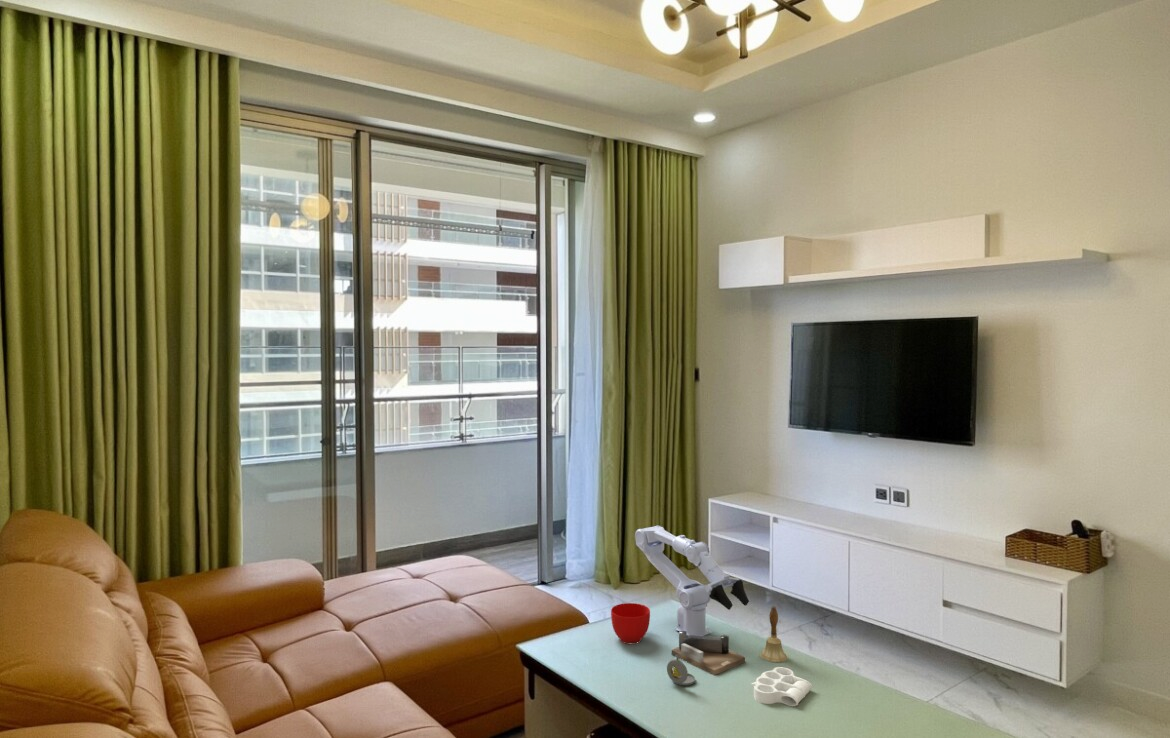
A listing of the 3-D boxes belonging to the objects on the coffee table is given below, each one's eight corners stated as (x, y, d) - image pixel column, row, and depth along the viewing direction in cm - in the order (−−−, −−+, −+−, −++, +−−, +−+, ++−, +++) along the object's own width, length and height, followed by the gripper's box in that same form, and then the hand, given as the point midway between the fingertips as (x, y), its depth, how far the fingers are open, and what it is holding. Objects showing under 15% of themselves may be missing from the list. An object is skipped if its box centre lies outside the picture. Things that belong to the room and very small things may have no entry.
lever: (678, 649, 224) (678, 633, 223) (679, 646, 226) (679, 630, 226) (728, 654, 220) (728, 637, 220) (728, 650, 223) (728, 634, 223)
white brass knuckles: (792, 714, 189) (741, 697, 198) (816, 688, 203) (768, 673, 212) (792, 702, 189) (741, 685, 198) (816, 676, 203) (768, 662, 212)
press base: (671, 654, 224) (671, 640, 224) (702, 642, 233) (702, 629, 233) (714, 675, 210) (714, 660, 210) (745, 662, 219) (745, 647, 219)
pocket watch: (694, 676, 210) (694, 643, 209) (696, 690, 201) (696, 655, 201) (666, 675, 210) (666, 642, 210) (667, 689, 202) (667, 654, 202)
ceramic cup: (662, 633, 241) (661, 604, 241) (638, 651, 227) (638, 620, 226) (628, 625, 248) (628, 596, 247) (603, 642, 234) (603, 612, 233)
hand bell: (790, 662, 218) (790, 611, 218) (763, 662, 218) (763, 611, 218) (783, 650, 227) (783, 601, 226) (757, 650, 227) (757, 601, 226)
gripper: (702, 567, 227) (728, 600, 218) (733, 561, 235) (760, 593, 226) (693, 582, 230) (718, 616, 221) (724, 575, 238) (749, 608, 229)
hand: (739, 605), depth 224 cm, fingers open, 7 cm apart
